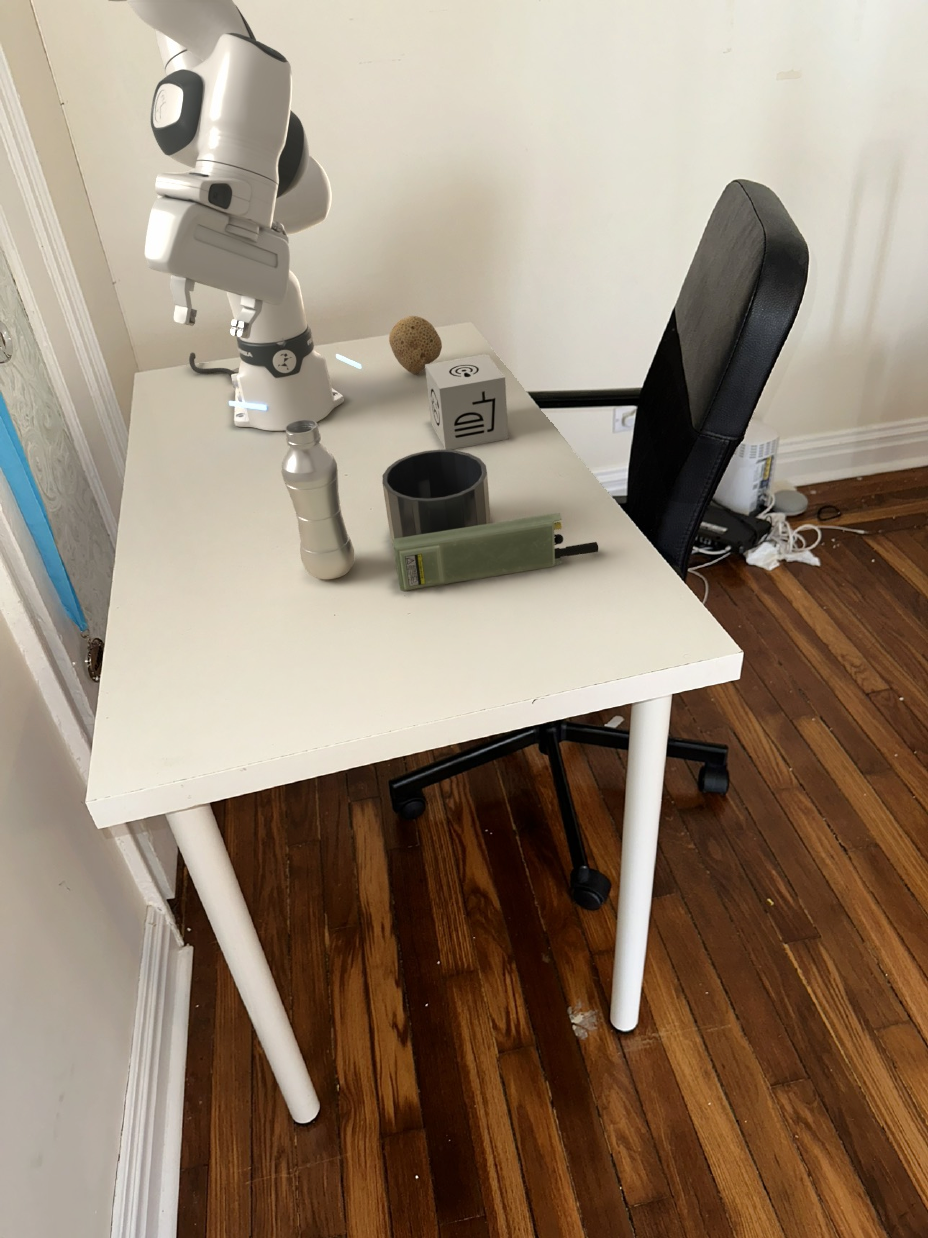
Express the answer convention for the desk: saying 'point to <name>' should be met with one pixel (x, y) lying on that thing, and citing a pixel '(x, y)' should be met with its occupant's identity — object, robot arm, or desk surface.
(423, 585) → the handheld radio
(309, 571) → the metal bottle
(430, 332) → the natural sponge
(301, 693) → the desk surface
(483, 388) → the icon cube
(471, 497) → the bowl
